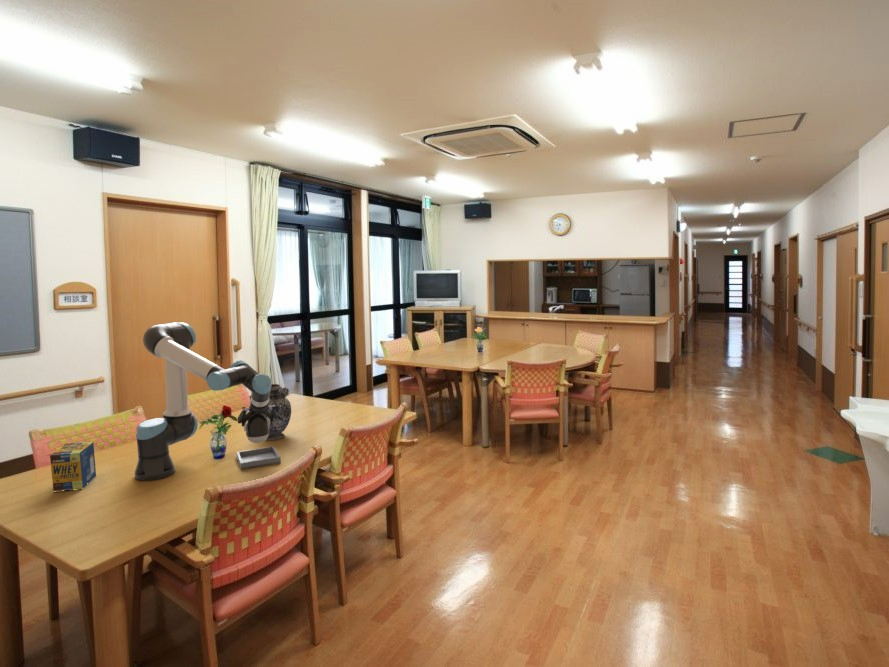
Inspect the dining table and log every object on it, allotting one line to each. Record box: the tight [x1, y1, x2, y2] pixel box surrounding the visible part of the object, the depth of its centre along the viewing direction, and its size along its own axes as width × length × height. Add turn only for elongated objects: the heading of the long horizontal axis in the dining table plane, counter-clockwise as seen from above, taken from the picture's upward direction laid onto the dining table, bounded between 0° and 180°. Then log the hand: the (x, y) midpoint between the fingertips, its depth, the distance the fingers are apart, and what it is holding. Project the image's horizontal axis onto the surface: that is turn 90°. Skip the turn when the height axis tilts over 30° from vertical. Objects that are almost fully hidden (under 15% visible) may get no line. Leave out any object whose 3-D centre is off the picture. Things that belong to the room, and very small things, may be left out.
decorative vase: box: [265, 383, 292, 441], centre depth 276 cm, size 21×19×28 cm
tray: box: [235, 445, 281, 471], centre depth 243 cm, size 17×17×3 cm
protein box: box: [49, 441, 97, 491], centre depth 217 cm, size 10×15×16 cm
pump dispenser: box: [245, 413, 269, 444], centre depth 241 cm, size 10×10×15 cm
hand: (256, 426), depth 244 cm, fingers closed on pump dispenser, 10 cm apart
